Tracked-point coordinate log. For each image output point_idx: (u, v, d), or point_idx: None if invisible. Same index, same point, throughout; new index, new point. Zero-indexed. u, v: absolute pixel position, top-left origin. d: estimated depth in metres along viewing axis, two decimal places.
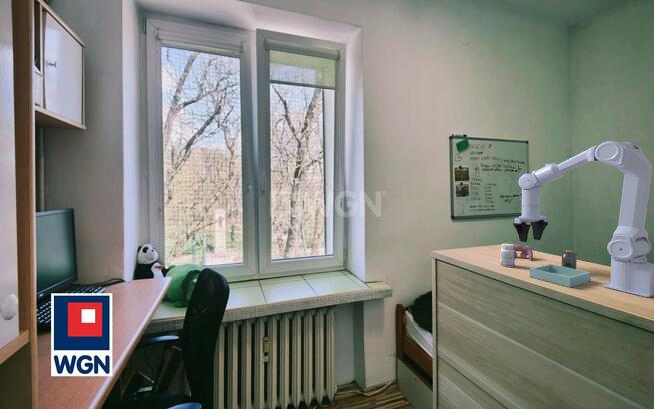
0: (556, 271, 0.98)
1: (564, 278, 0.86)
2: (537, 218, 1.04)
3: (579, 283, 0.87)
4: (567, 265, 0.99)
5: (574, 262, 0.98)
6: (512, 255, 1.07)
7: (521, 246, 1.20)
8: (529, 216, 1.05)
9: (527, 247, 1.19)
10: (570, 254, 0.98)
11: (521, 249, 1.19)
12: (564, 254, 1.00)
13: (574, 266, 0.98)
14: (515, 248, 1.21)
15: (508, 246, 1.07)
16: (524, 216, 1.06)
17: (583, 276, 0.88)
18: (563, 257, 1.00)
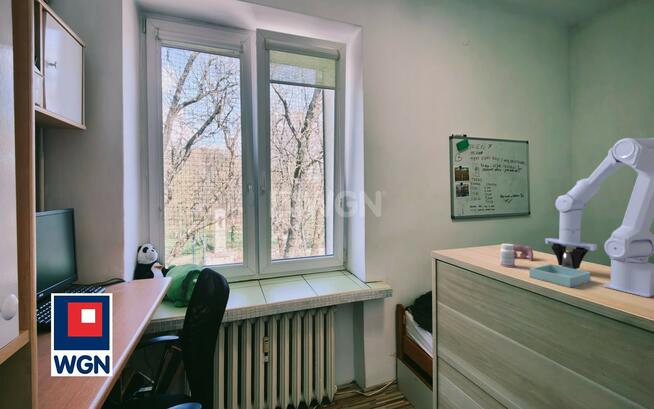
0: (556, 271, 0.98)
1: (564, 278, 0.86)
2: (562, 242, 0.99)
3: (579, 283, 0.87)
4: (567, 265, 0.99)
5: None
6: (512, 255, 1.07)
7: (521, 246, 1.19)
8: (559, 239, 1.01)
9: (527, 247, 1.18)
10: (570, 254, 0.98)
11: (521, 249, 1.19)
12: (564, 254, 1.00)
13: None
14: (515, 248, 1.20)
15: (508, 246, 1.07)
16: None
17: (583, 276, 0.88)
18: (563, 257, 1.00)
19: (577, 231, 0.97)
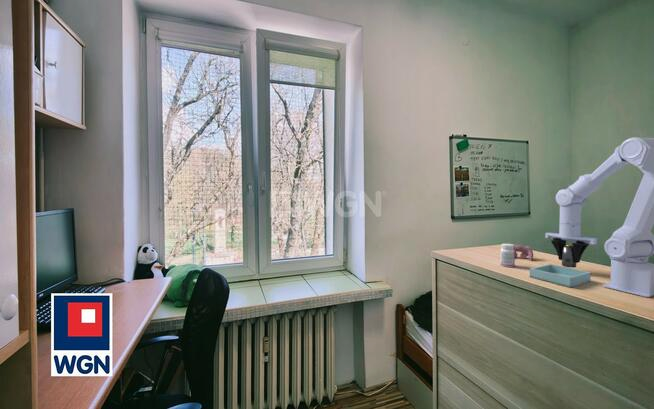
0: (556, 271, 0.98)
1: (564, 278, 0.86)
2: (563, 236, 0.99)
3: (579, 283, 0.87)
4: (567, 259, 0.99)
5: None
6: (512, 255, 1.07)
7: (521, 246, 1.19)
8: (559, 233, 1.01)
9: (527, 247, 1.18)
10: (570, 248, 0.98)
11: (521, 249, 1.19)
12: (564, 248, 1.00)
13: None
14: (515, 248, 1.20)
15: (508, 246, 1.07)
16: None
17: (583, 276, 0.88)
18: (563, 251, 1.00)
19: (577, 225, 0.96)
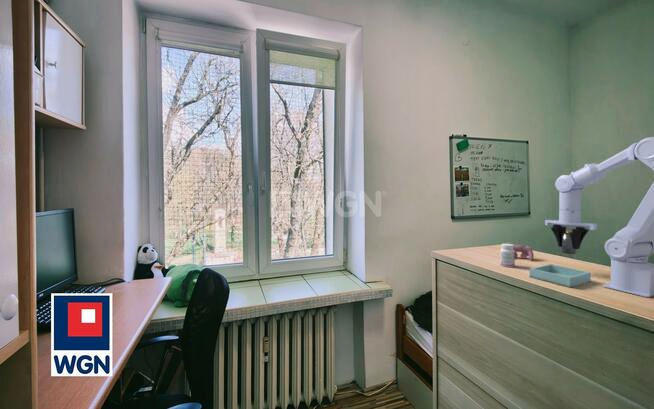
0: (556, 271, 0.98)
1: (564, 278, 0.86)
2: (562, 223, 0.98)
3: (579, 283, 0.87)
4: (567, 246, 0.98)
5: None
6: (512, 255, 1.07)
7: (521, 246, 1.19)
8: (559, 220, 1.00)
9: (527, 247, 1.18)
10: (570, 234, 0.97)
11: (521, 249, 1.19)
12: (564, 235, 0.99)
13: None
14: (515, 248, 1.20)
15: (508, 246, 1.07)
16: None
17: (583, 276, 0.88)
18: (563, 238, 0.99)
19: (577, 211, 0.96)
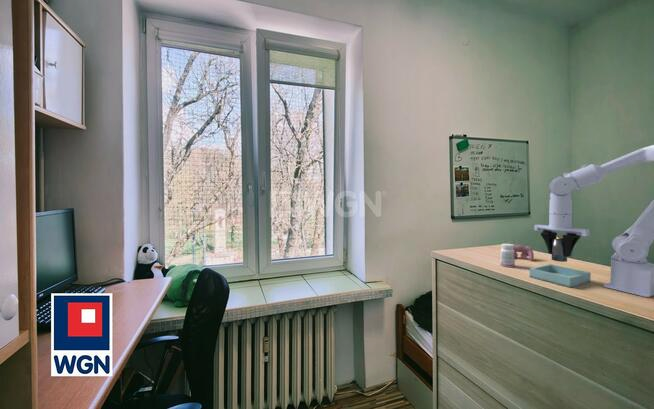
0: (556, 271, 0.98)
1: (564, 278, 0.86)
2: (552, 228, 0.91)
3: (579, 283, 0.87)
4: (557, 253, 0.91)
5: None
6: (512, 255, 1.07)
7: (521, 247, 1.18)
8: (549, 225, 0.94)
9: (528, 248, 1.18)
10: (560, 241, 0.90)
11: (521, 250, 1.18)
12: (554, 241, 0.92)
13: None
14: (515, 249, 1.19)
15: (508, 246, 1.07)
16: None
17: (583, 276, 0.88)
18: (553, 244, 0.92)
19: (568, 215, 0.89)
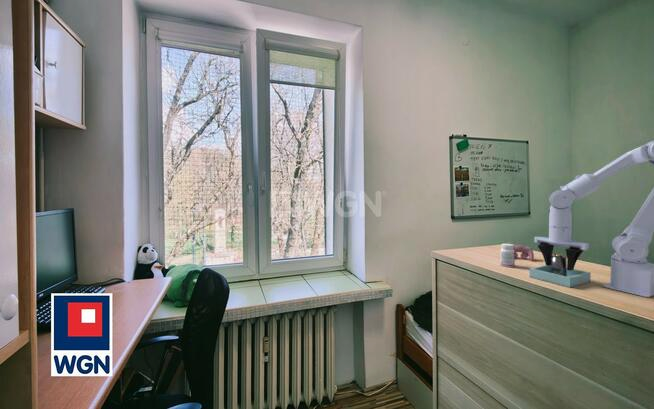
0: None
1: (564, 278, 0.86)
2: (552, 241, 0.91)
3: (579, 283, 0.87)
4: (557, 270, 0.91)
5: (564, 266, 0.91)
6: (512, 255, 1.07)
7: (522, 247, 1.18)
8: None
9: (528, 248, 1.17)
10: (559, 258, 0.91)
11: (522, 250, 1.18)
12: (553, 258, 0.92)
13: (564, 271, 0.91)
14: (516, 249, 1.19)
15: (508, 246, 1.07)
16: None
17: (583, 276, 0.88)
18: (552, 262, 0.93)
19: (568, 229, 0.89)
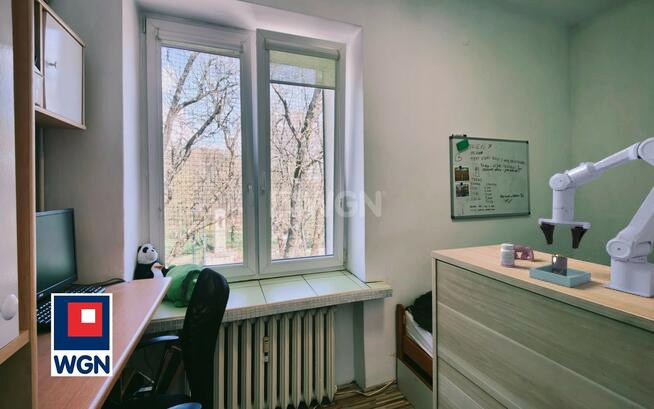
0: None
1: (564, 278, 0.86)
2: (556, 221, 0.98)
3: (579, 283, 0.87)
4: (557, 271, 0.91)
5: (565, 267, 0.91)
6: (512, 255, 1.07)
7: (522, 247, 1.18)
8: (552, 218, 1.00)
9: (528, 248, 1.17)
10: (560, 259, 0.91)
11: (522, 250, 1.18)
12: (554, 259, 0.92)
13: (565, 272, 0.91)
14: (516, 249, 1.19)
15: (508, 246, 1.07)
16: None
17: (583, 276, 0.88)
18: (553, 262, 0.93)
19: (570, 209, 0.95)
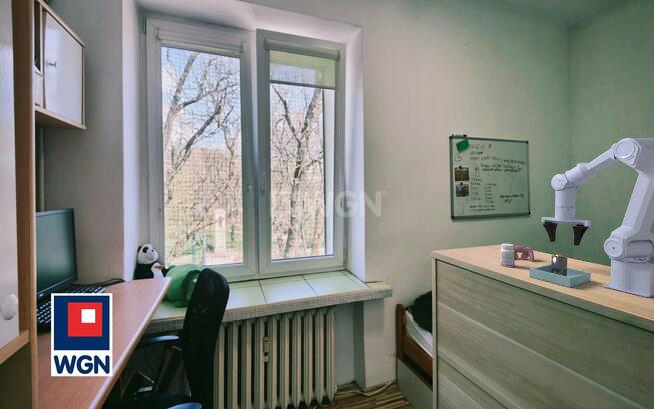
0: None
1: (564, 278, 0.86)
2: (558, 219, 1.03)
3: (579, 283, 0.87)
4: (557, 271, 0.91)
5: (565, 267, 0.91)
6: (512, 255, 1.07)
7: (522, 247, 1.17)
8: (555, 217, 1.05)
9: (528, 248, 1.17)
10: (560, 259, 0.91)
11: (522, 250, 1.17)
12: (554, 259, 0.92)
13: (565, 272, 0.91)
14: (516, 249, 1.18)
15: (508, 246, 1.07)
16: None
17: (583, 276, 0.88)
18: (553, 262, 0.93)
19: (572, 208, 1.00)
